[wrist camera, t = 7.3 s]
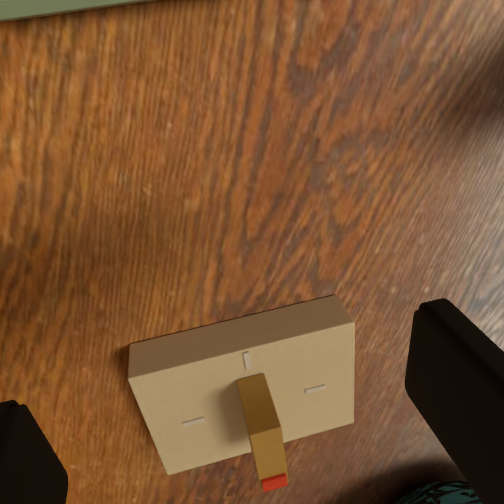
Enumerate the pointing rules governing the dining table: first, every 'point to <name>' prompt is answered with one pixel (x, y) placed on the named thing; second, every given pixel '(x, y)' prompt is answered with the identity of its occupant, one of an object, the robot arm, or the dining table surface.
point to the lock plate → (242, 366)
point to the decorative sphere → (441, 494)
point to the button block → (53, 7)
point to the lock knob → (263, 432)
